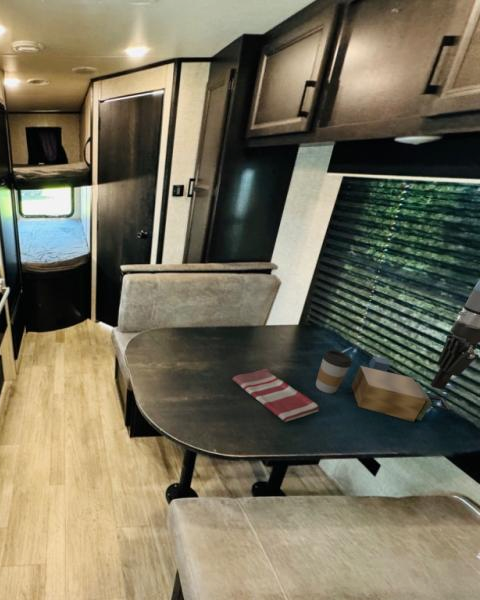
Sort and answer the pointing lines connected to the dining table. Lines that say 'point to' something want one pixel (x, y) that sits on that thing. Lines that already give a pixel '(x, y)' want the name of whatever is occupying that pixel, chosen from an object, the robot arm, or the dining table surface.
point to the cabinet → (388, 393)
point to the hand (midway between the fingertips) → (436, 387)
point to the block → (379, 364)
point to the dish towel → (276, 395)
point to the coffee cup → (332, 371)
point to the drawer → (428, 404)
